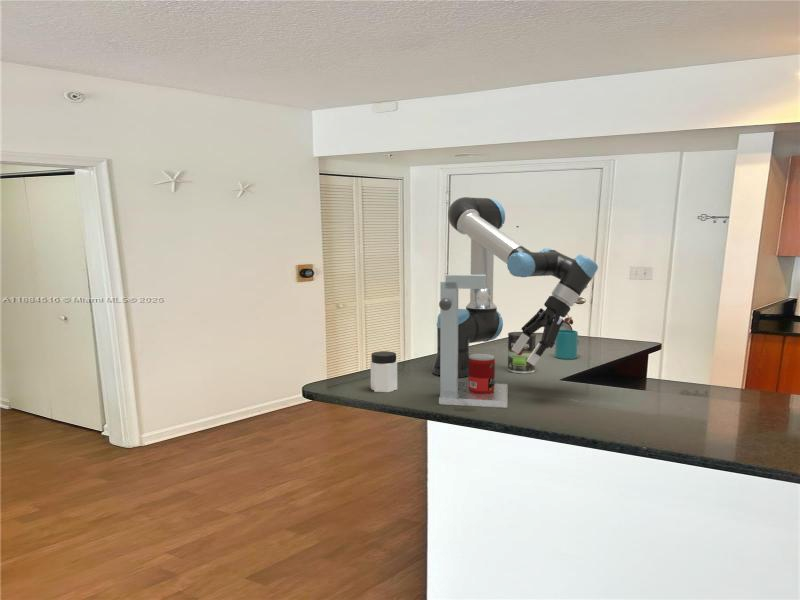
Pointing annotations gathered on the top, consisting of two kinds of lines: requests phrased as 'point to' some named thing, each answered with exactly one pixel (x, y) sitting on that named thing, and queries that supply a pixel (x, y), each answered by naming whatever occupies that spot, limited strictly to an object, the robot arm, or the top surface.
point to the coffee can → (520, 354)
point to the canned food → (481, 373)
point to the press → (449, 384)
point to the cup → (566, 344)
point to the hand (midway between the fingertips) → (522, 357)
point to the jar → (383, 371)
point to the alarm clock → (566, 324)
